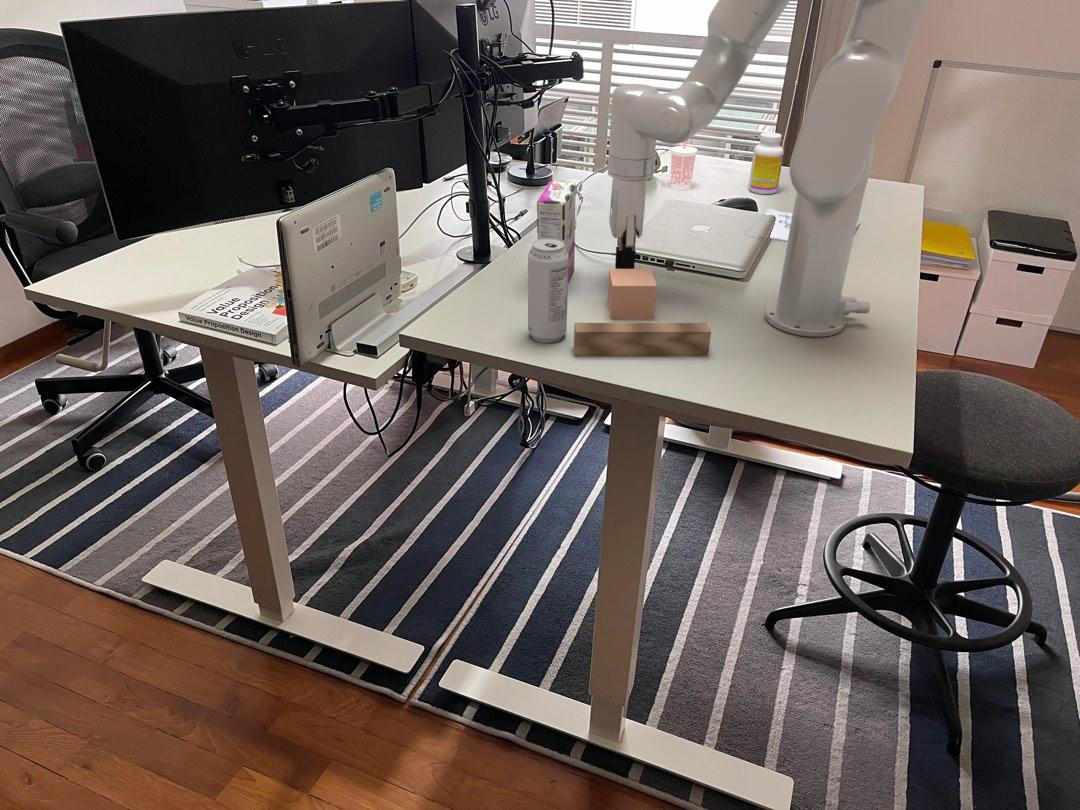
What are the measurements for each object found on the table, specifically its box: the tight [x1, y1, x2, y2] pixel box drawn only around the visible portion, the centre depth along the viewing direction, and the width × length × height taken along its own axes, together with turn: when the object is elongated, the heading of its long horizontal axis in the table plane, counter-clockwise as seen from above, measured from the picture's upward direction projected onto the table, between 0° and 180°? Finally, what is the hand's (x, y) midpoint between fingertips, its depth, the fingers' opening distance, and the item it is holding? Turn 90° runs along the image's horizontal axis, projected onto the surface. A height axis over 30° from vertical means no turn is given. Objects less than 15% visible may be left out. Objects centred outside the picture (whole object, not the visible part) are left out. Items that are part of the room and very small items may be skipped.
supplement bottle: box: [748, 131, 785, 195], centre depth 190 cm, size 7×7×13 cm
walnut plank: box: [573, 322, 712, 357], centre depth 124 cm, size 20×3×4 cm, turn 91°
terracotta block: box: [607, 268, 658, 320], centre depth 136 cm, size 7×7×6 cm
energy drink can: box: [527, 238, 569, 344], centre depth 125 cm, size 6×6×15 cm
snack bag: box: [764, 208, 861, 243], centre depth 171 cm, size 19×20×2 cm
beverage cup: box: [670, 140, 698, 192], centre depth 191 cm, size 6×6×14 cm
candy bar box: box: [536, 180, 577, 284], centre depth 143 cm, size 11×5×16 cm, turn 168°
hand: (624, 269), depth 145 cm, fingers closed
